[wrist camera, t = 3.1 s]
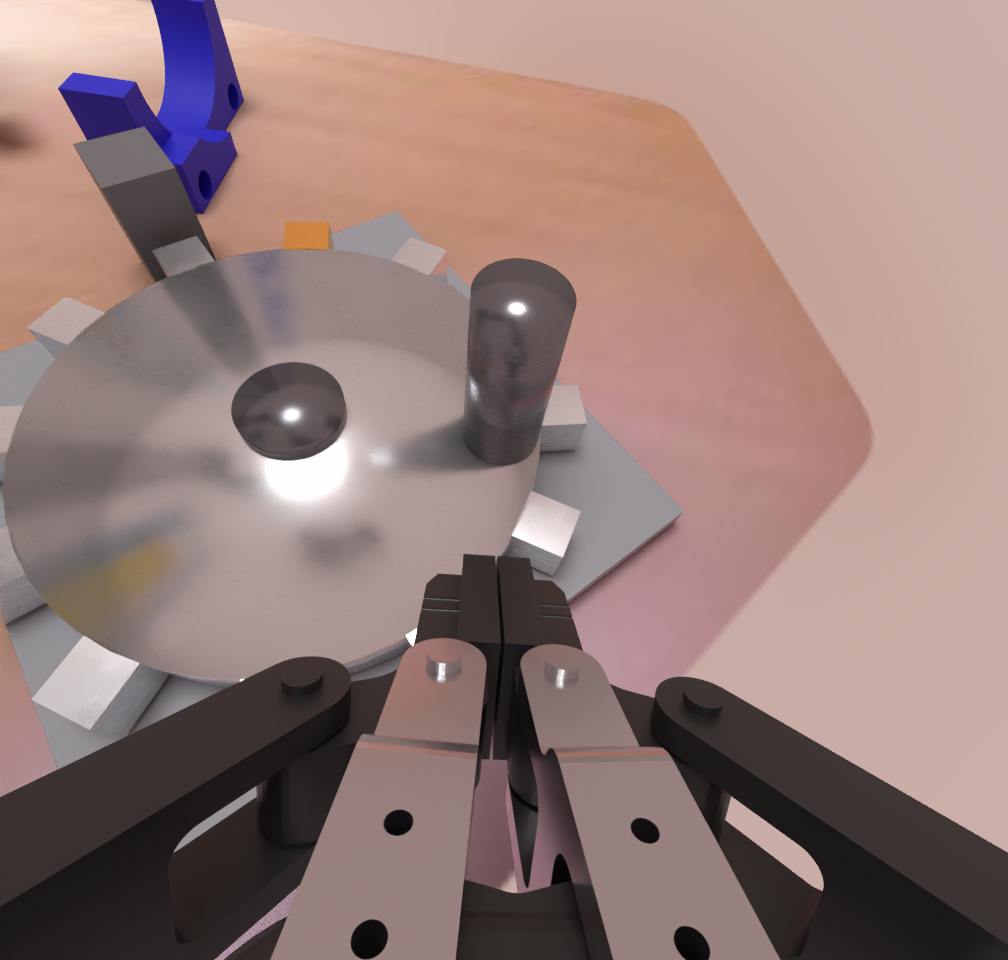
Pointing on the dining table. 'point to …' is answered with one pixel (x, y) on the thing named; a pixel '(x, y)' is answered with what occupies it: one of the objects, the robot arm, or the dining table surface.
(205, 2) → the cable clip
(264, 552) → the sprocket
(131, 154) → the sprocket stand
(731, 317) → the dining table surface
